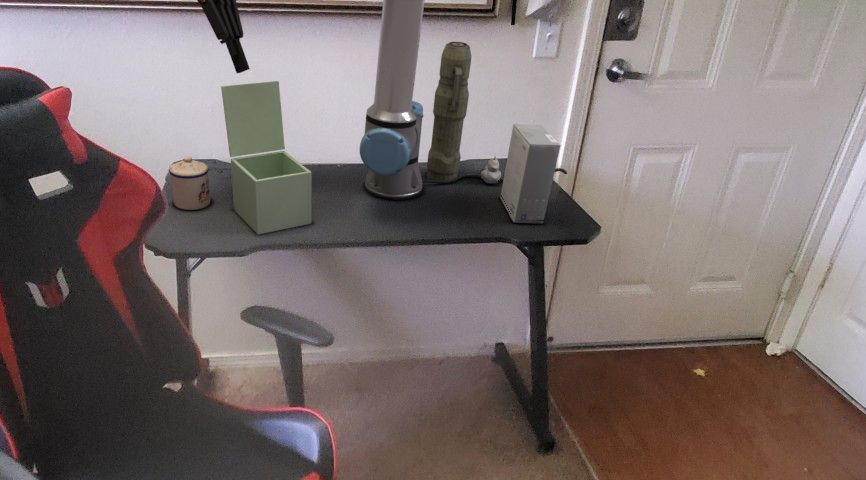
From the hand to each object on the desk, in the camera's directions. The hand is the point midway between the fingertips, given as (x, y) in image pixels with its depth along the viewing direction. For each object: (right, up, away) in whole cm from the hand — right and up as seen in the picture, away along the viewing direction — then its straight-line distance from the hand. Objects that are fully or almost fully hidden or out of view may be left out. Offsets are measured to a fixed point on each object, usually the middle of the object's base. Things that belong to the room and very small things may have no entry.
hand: (243, 71), depth 147 cm
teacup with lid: (-15, -26, +16) cm, 34 cm away
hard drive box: (+67, -28, +22) cm, 75 cm away
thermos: (+48, -15, +38) cm, 63 cm away
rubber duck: (+61, -17, +36) cm, 73 cm away
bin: (+5, -31, +11) cm, 33 cm away
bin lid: (+2, -9, +5) cm, 11 cm away
